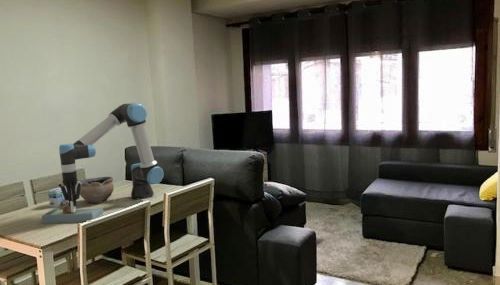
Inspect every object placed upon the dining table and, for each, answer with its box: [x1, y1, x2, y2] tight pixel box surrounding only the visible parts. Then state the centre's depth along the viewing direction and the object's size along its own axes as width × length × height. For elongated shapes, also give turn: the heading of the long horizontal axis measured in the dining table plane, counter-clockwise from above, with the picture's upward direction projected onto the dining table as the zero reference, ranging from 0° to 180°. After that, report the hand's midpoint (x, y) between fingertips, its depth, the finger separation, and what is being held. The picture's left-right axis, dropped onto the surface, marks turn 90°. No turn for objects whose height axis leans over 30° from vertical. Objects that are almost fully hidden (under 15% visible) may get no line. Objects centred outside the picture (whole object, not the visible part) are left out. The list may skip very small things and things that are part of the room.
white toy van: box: [47, 186, 69, 208], centre depth 275 cm, size 11×7×11 cm, turn 168°
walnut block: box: [61, 204, 76, 214], centre depth 240 cm, size 5×5×5 cm
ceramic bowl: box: [78, 176, 114, 204], centre depth 279 cm, size 22×22×15 cm
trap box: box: [41, 207, 104, 224], centre depth 243 cm, size 29×16×4 cm, turn 87°
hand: (73, 211), depth 239 cm, fingers closed
